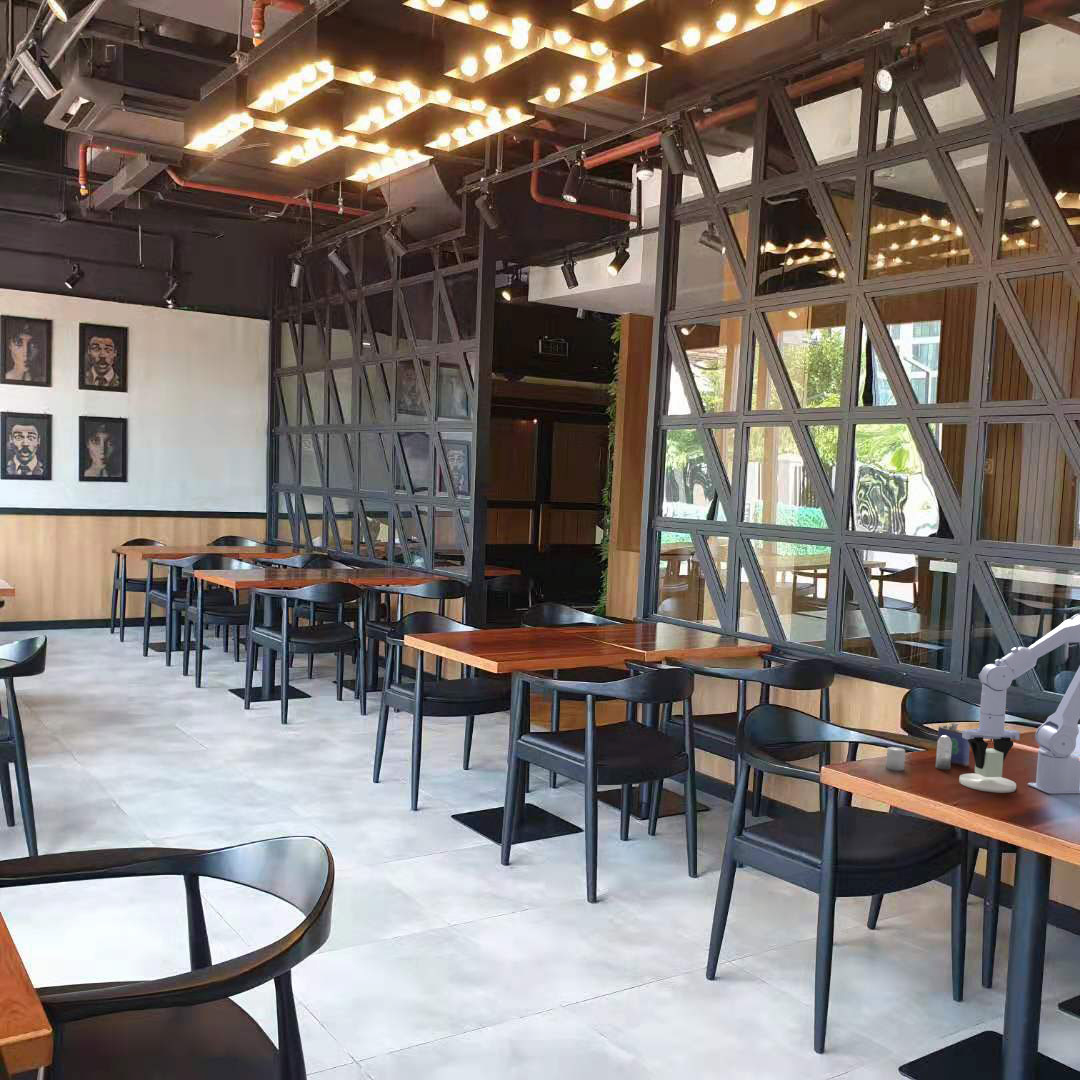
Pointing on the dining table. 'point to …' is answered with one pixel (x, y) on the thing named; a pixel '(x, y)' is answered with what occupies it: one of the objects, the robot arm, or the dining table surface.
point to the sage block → (991, 764)
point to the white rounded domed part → (895, 758)
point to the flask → (956, 744)
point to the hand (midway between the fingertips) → (988, 767)
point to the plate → (987, 783)
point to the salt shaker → (944, 752)
